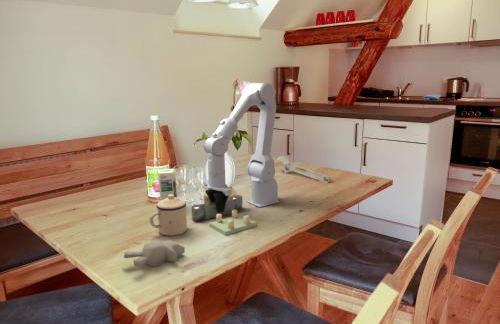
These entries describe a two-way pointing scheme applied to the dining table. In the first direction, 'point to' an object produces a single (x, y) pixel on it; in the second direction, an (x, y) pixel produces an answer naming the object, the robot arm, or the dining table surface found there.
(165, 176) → the syrup box
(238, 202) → the ball-knob grey rod
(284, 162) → the wrench
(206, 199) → the slot block
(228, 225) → the rack
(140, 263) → the bunny figurine
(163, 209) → the teacup with lid
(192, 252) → the dining table surface
